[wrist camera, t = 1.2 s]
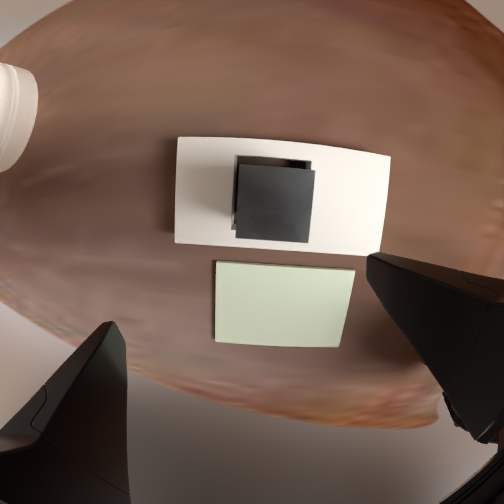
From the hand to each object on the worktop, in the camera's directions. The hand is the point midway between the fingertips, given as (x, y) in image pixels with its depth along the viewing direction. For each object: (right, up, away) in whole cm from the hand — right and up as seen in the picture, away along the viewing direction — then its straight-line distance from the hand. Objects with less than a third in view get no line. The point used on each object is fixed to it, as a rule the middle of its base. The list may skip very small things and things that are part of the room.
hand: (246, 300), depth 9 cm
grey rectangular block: (+2, +6, +14) cm, 15 cm away
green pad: (+3, -3, +16) cm, 17 cm away
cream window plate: (+3, +6, +14) cm, 15 cm away
